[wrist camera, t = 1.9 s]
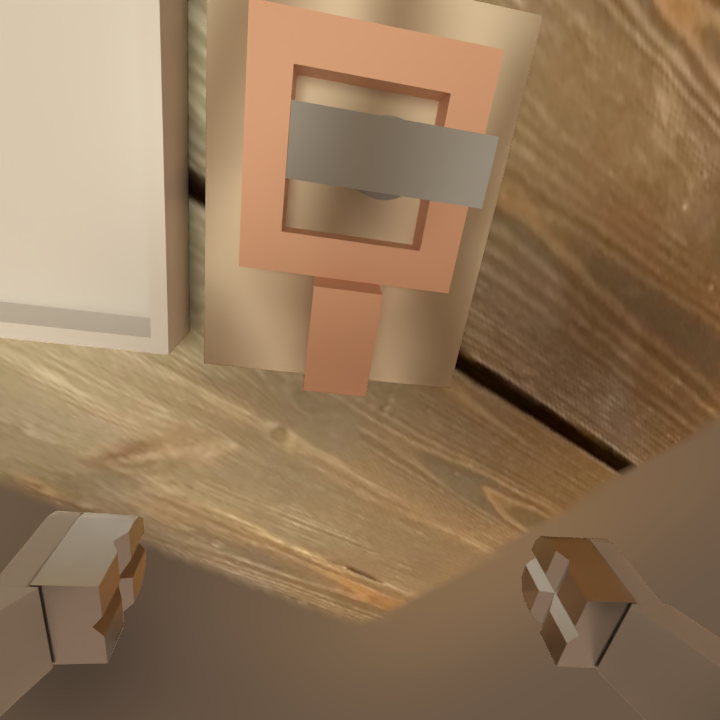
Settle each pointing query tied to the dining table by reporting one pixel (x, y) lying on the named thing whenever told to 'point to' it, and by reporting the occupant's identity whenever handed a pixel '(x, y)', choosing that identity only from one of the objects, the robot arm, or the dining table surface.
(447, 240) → the square frame with stem
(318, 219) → the board
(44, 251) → the tray
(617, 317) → the dining table surface
